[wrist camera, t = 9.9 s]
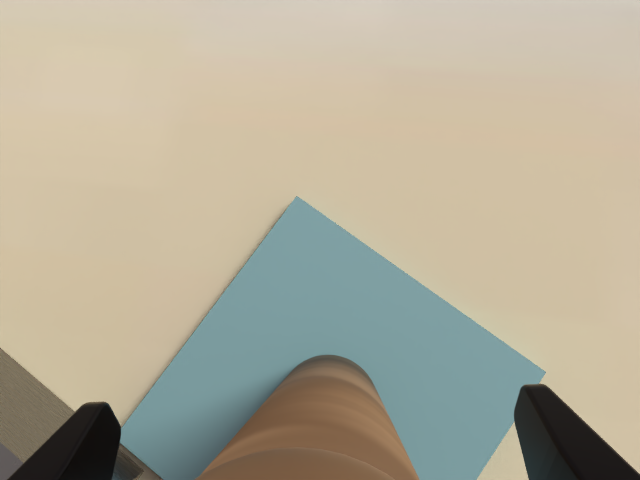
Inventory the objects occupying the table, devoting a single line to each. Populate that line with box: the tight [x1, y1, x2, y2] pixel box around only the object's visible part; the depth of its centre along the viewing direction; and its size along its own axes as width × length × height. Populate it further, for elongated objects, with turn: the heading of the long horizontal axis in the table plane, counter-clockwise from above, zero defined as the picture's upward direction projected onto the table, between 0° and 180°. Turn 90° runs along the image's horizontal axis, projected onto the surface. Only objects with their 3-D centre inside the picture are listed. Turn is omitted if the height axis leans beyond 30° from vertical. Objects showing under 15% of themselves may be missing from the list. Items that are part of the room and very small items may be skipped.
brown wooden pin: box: [194, 355, 419, 480], centre depth 9 cm, size 4×4×14 cm
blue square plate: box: [120, 196, 546, 480], centre depth 17 cm, size 11×11×1 cm
